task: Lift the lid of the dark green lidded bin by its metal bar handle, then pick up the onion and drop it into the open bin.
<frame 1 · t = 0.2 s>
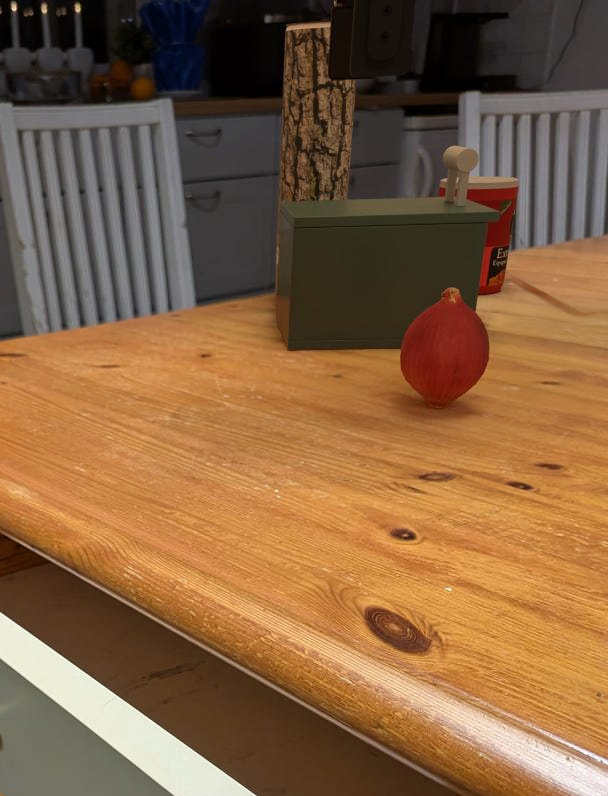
hand: (364, 77, 58), 20 cm above the table, tool pointing down, fingers open, 9 cm apart
bark log: (306, 306, 101), on the table
onion: (436, 410, 67), on the table
canned food: (464, 291, 106), on the table
bin: (366, 332, 88), on the table
bin lid: (383, 183, 82), point 12 cm above the table, hinge at 0.0°
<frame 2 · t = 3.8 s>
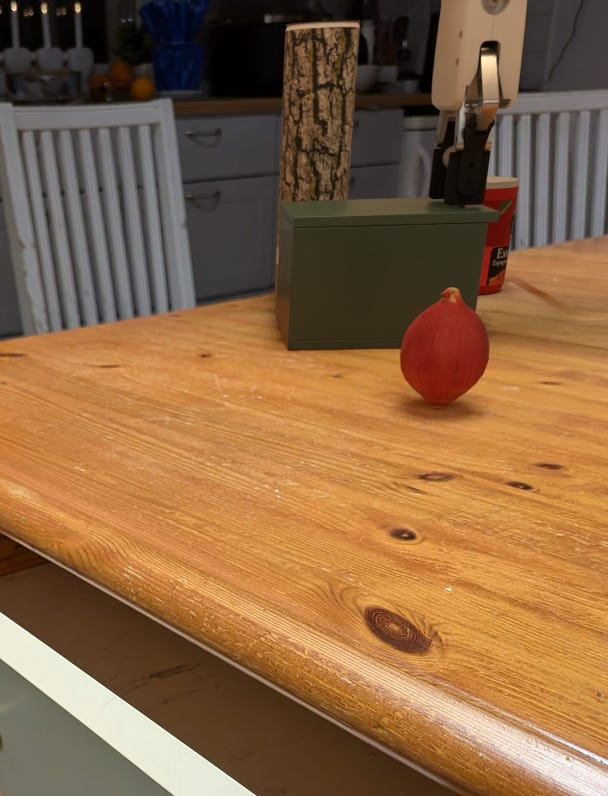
hand: (455, 199, 83), 11 cm above the table, tool pointing down, fingers closed on bin lid, 5 cm apart
bin lid: (383, 183, 82), point 12 cm above the table, hinge at 0.0°, touching gripper
everything else where it was.
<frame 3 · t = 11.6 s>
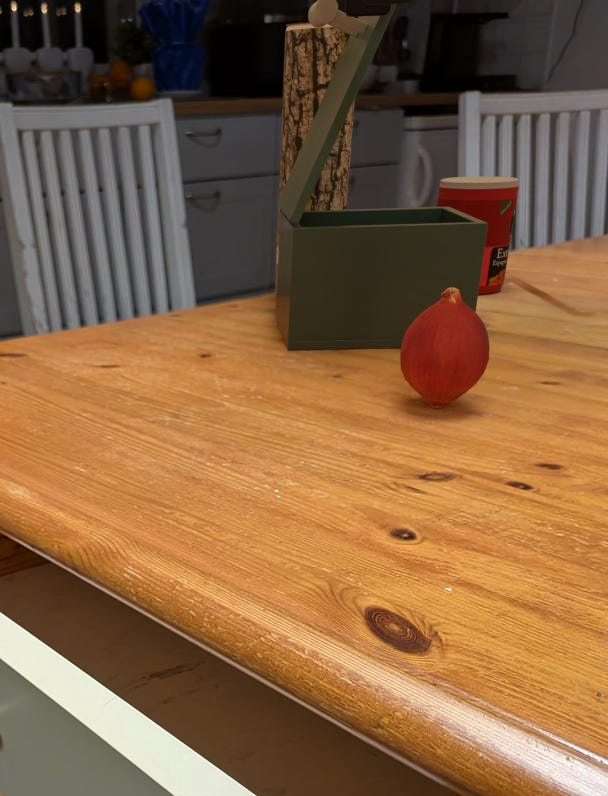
hand: (376, 10, 66), 24 cm above the table, tool pointing down, fingers open, 9 cm apart
bin lid: (306, 103, 80), point 19 cm above the table, hinge at 66.6°
everything else where it was.
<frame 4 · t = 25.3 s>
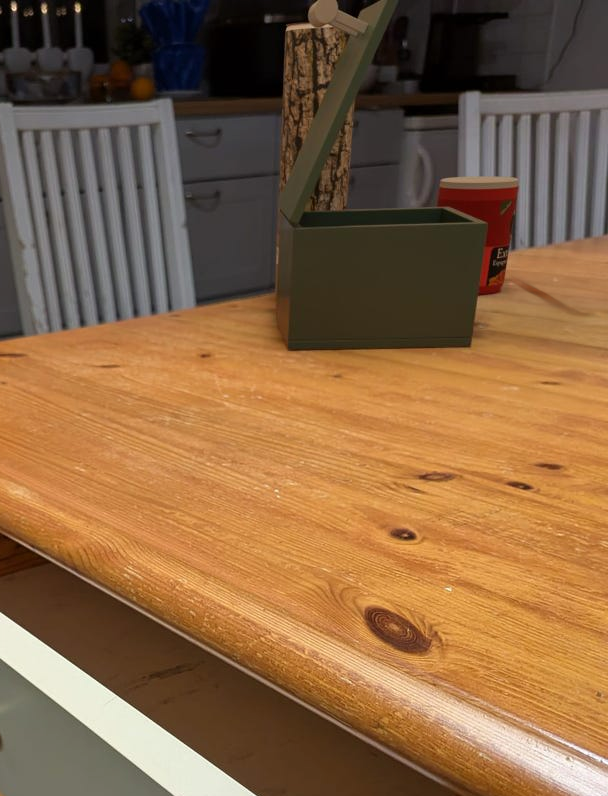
onion: (390, 297, 83), point 4 cm above the table, touching bin
everything else where it was.
at the end: bin lid at +67° (first picture: +0°); onion inside the target area in the bin (4.3 cm from its centre), point 3.7 cm above the bin's base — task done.
